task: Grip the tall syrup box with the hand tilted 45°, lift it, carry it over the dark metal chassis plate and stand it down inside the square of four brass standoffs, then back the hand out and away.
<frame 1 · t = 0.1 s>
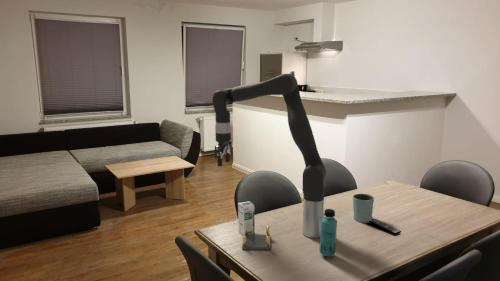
hand: (224, 164, 181), 29 cm above the table, tool pointing down, fingers open, 8 cm apart
chassis plate: (256, 243, 163), on the table
syrup box: (246, 233, 173), on the table
beverage bottle: (327, 256, 152), on the table
teal cup: (361, 219, 187), on the table
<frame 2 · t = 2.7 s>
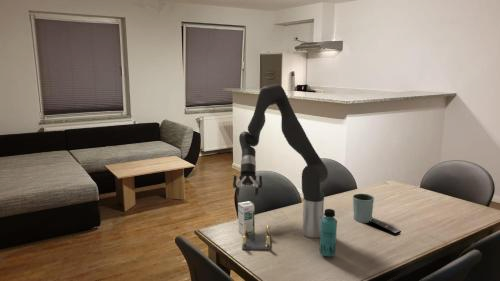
hand: (247, 195, 178), 15 cm above the table, tool tilted 45°, fingers open, 8 cm apart
nothing on the table moved.
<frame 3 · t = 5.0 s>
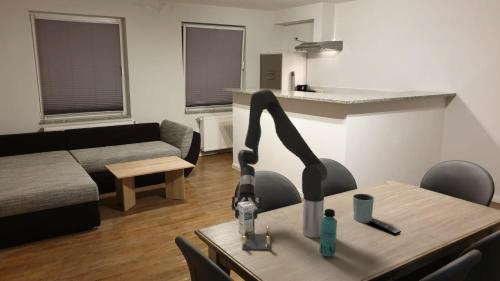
hand: (246, 218, 170), 8 cm above the table, tool tilted 45°, fingers closed on syrup box, 7 cm apart
syrup box: (246, 233, 173), on the table, touching gripper
everything else where it was.
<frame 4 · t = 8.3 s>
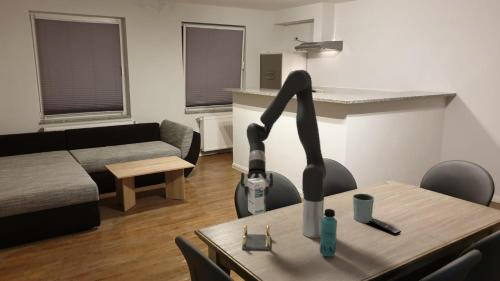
hand: (256, 196, 157), 22 cm above the table, tool tilted 45°, fingers closed on syrup box, 7 cm apart
syrup box: (256, 212, 160), point 14 cm above the table, touching gripper
everything else where it was.
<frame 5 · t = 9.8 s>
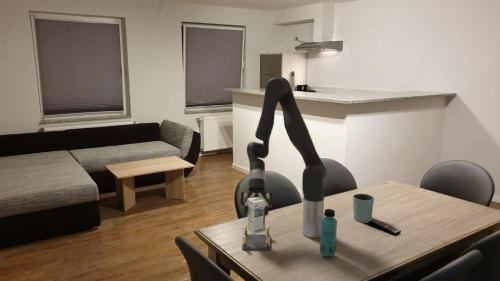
hand: (256, 215, 159), 14 cm above the table, tool tilted 45°, fingers closed on syrup box, 7 cm apart
syrup box: (256, 230, 162), point 6 cm above the table, touching gripper
everything else where it was.
when the fingers open (10 cm above the table, at t = 11.2 s): syrup box drops 1 cm, resting on chassis plate.
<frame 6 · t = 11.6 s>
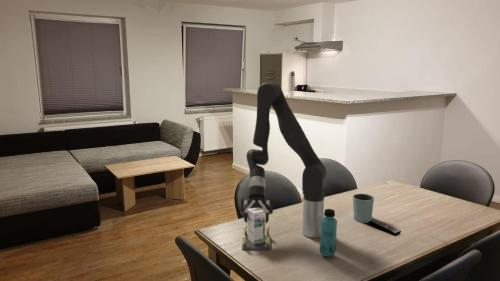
hand: (256, 222, 159), 10 cm above the table, tool tilted 45°, fingers open, 8 cm apart
syrup box: (256, 240, 163), point 1 cm above the table, touching chassis plate, gripper
everything else where it was.
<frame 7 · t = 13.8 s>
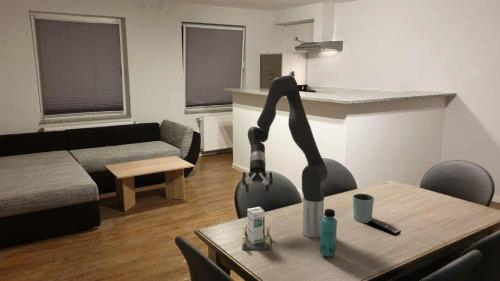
hand: (257, 193, 170), 19 cm above the table, tool tilted 45°, fingers open, 8 cm apart
syrup box: (256, 240, 163), point 1 cm above the table, touching chassis plate
everything else where it was.
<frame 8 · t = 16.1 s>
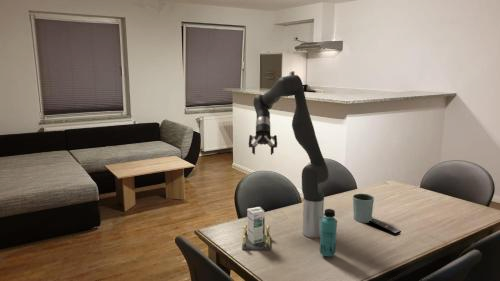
hand: (262, 153, 183), 34 cm above the table, tool tilted 45°, fingers open, 8 cm apart
nothing on the table moved.
at the end: syrup box 0.4 cm off-centre on the chassis plate, point 1.0 cm above the chassis plate's base; syrup box tilted 0°; the gripper is holding nothing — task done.
